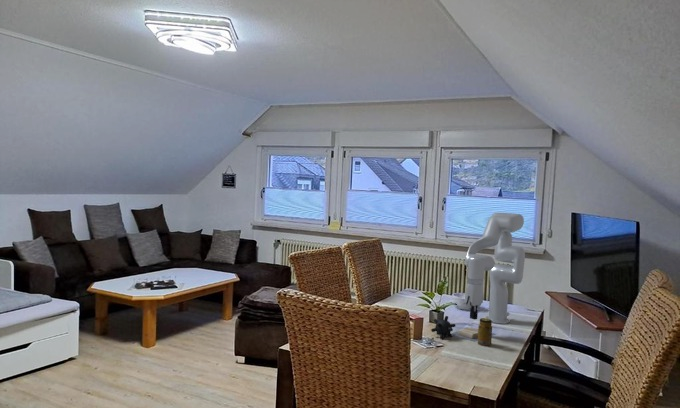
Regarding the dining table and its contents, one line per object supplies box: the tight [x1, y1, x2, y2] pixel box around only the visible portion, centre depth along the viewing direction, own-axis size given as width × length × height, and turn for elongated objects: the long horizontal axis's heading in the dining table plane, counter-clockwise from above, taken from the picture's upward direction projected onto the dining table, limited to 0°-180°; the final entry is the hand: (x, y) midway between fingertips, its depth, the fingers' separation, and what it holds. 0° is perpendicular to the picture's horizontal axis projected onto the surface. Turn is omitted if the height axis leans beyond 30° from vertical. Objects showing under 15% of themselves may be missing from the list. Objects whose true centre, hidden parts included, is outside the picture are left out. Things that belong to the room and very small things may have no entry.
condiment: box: [477, 317, 493, 347], centre depth 211 cm, size 7×8×12 cm
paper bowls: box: [451, 292, 470, 311], centre depth 281 cm, size 15×15×8 cm
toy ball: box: [431, 315, 457, 340], centre depth 221 cm, size 11×11×12 cm
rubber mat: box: [450, 326, 497, 343], centre depth 227 cm, size 20×14×1 cm
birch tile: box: [457, 326, 478, 338], centre depth 225 cm, size 2×8×10 cm
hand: (473, 318), depth 226 cm, fingers closed
